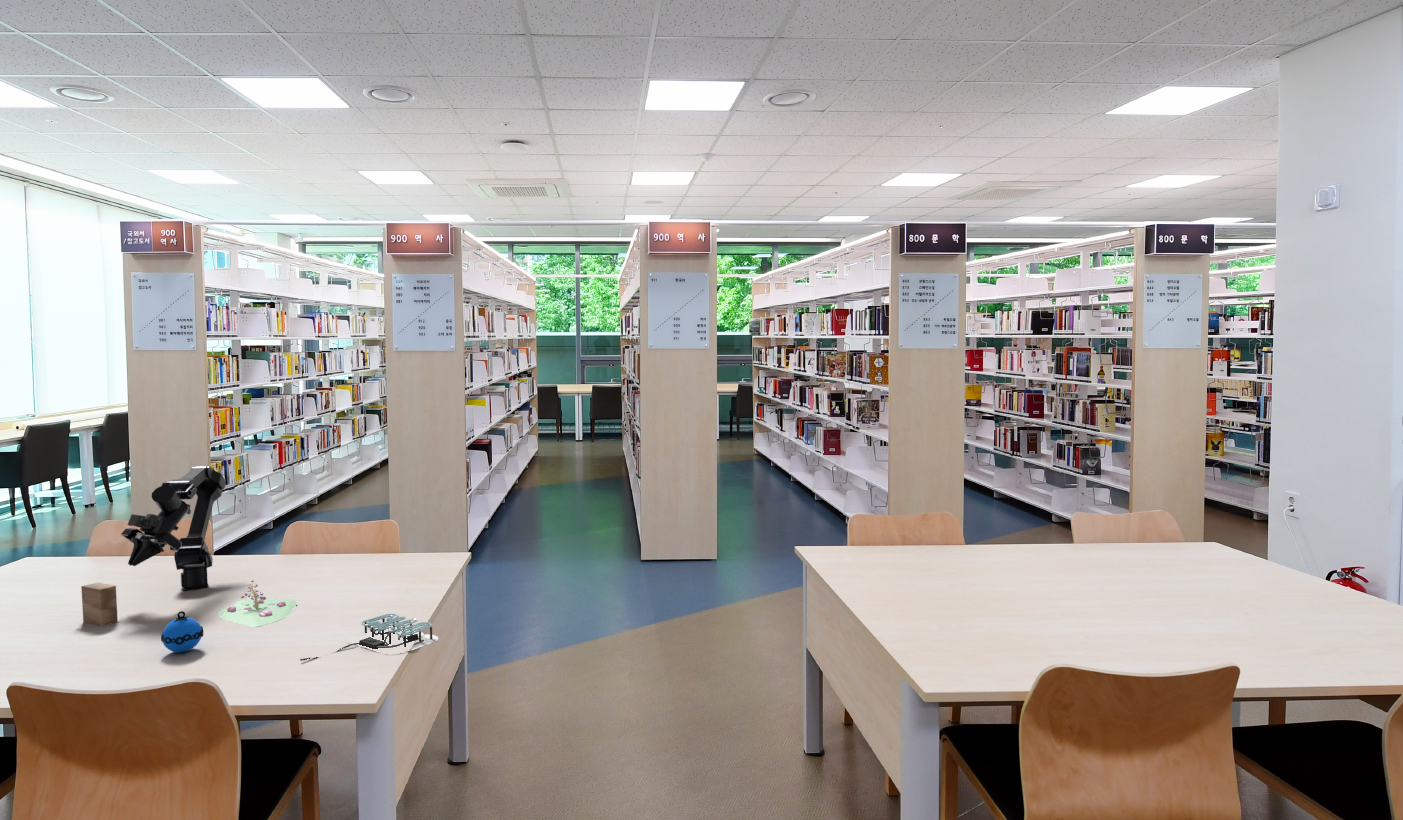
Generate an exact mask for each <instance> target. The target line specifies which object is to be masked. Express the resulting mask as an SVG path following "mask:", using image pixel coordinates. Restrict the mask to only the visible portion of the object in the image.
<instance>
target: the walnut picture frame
mask: <svg viewBox="0 0 1403 820" xmlns="http://www.w3.org/2000/svg"><path fill="white" fill-rule="evenodd" d="M80 586H81V585H80ZM80 589H81V603H82V605H81V607H82V621H83V623H84V624H90V625H94V626H99V627H104V626H107V625H111V624H114V623H118V622H119V621H118V604H117V603H118V602H117V600H118V599H117V586H116V585H114V584H108V583H104V582H103V583H102V582H93V583H90V584H89V583H88V584H86V585H82V586H81V587H80Z"/></svg>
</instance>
